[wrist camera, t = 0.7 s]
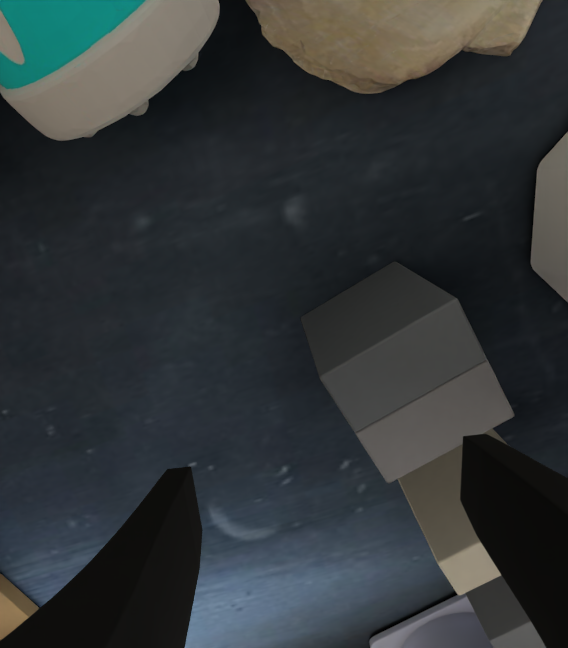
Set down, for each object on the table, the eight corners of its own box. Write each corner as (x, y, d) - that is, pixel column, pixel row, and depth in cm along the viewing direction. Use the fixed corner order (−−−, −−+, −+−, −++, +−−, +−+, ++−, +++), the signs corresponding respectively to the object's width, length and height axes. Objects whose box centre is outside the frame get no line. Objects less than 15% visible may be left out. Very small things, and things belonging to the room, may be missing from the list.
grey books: (529, 515, 25) (618, 625, 19) (449, 555, 26) (511, 675, 19) (394, 260, 20) (457, 297, 14) (299, 317, 20) (318, 377, 14)
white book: (486, 434, 23) (580, 537, 16) (401, 479, 24) (459, 597, 17) (471, 405, 23) (561, 501, 16) (384, 452, 23) (437, 563, 16)
